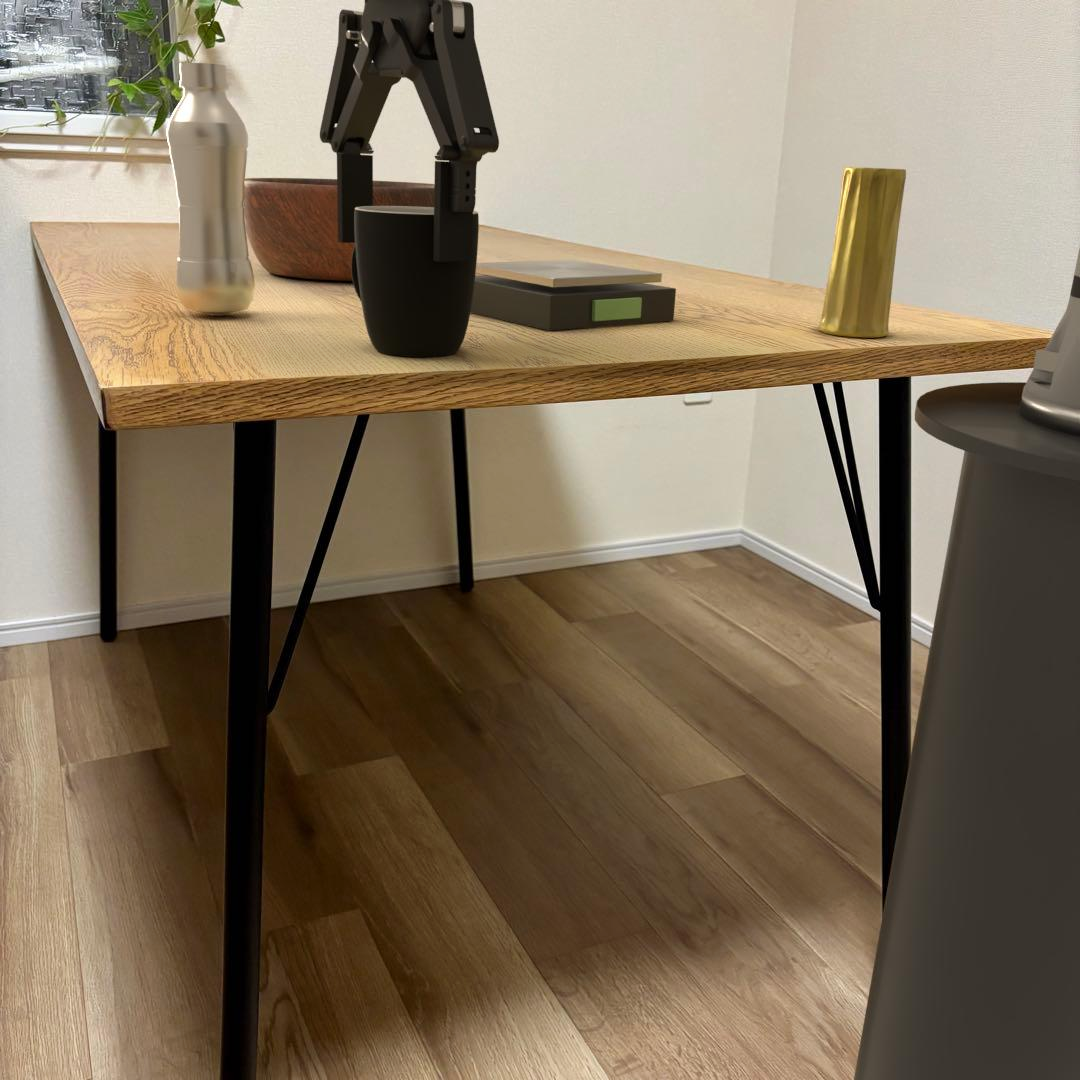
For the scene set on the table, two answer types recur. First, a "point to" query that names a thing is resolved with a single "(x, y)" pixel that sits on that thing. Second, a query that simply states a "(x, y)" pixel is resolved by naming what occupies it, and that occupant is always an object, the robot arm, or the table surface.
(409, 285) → the mug
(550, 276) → the scale pan
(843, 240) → the vase
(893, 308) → the table surface
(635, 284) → the scale
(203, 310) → the silver bottle
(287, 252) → the wooden bowl
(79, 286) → the table surface
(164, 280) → the table surface
